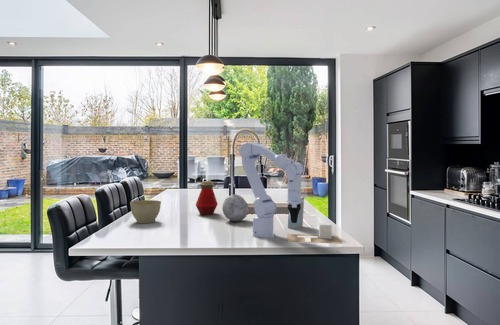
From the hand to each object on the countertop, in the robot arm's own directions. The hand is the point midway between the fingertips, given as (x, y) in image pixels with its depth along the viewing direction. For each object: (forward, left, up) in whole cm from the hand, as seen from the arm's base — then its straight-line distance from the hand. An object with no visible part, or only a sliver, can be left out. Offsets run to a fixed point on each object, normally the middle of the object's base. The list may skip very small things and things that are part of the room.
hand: (294, 221), depth 155 cm
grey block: (+14, +7, -8) cm, 17 cm away
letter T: (+6, +3, -8) cm, 11 cm away
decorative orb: (-32, +39, -9) cm, 51 cm away
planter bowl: (-80, +30, -9) cm, 86 cm away
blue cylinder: (0, 0, -1) cm, 1 cm away
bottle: (-53, +58, -9) cm, 79 cm away
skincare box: (+1, +27, -9) cm, 28 cm away
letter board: (+9, +4, -8) cm, 13 cm away
